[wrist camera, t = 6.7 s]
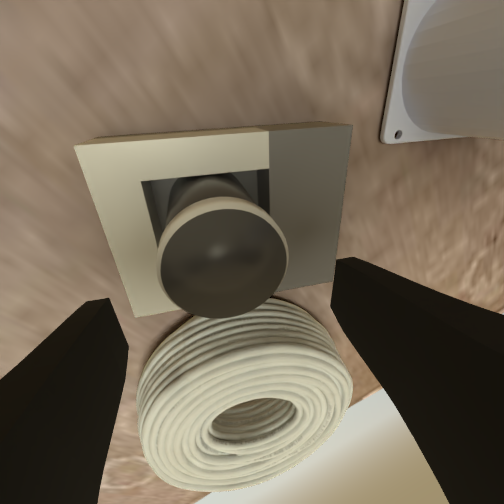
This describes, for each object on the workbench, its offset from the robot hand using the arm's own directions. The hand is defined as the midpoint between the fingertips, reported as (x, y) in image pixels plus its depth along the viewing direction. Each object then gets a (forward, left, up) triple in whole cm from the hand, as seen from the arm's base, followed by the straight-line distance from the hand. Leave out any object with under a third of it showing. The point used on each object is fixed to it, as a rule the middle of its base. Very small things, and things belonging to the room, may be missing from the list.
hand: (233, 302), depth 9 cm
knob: (0, -1, -8) cm, 8 cm away
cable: (-1, +16, -10) cm, 19 cm away
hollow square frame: (-1, 0, -9) cm, 9 cm away
